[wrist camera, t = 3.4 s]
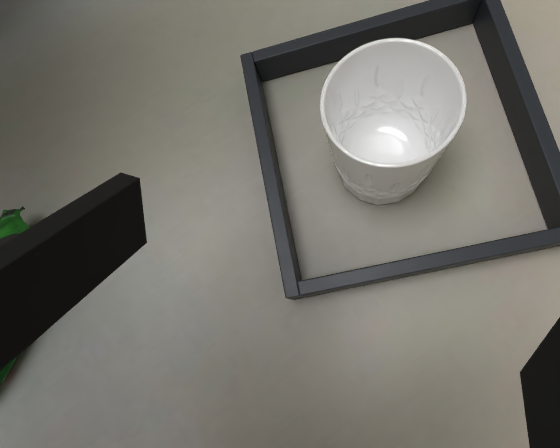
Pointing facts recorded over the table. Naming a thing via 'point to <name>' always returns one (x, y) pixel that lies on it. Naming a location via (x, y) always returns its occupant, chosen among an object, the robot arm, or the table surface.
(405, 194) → the white cup
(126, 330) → the table surface
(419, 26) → the dark grey square frame
